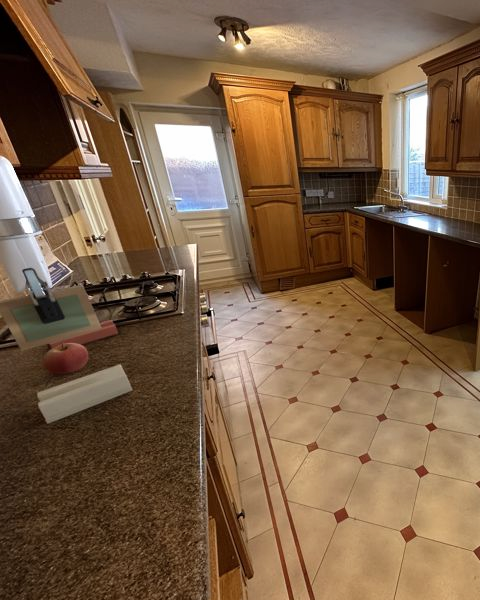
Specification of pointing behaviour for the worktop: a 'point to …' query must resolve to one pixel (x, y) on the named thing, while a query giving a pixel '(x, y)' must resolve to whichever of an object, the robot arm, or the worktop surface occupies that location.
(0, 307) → the frame
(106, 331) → the stand
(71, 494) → the worktop surface
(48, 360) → the apple
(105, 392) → the holder
